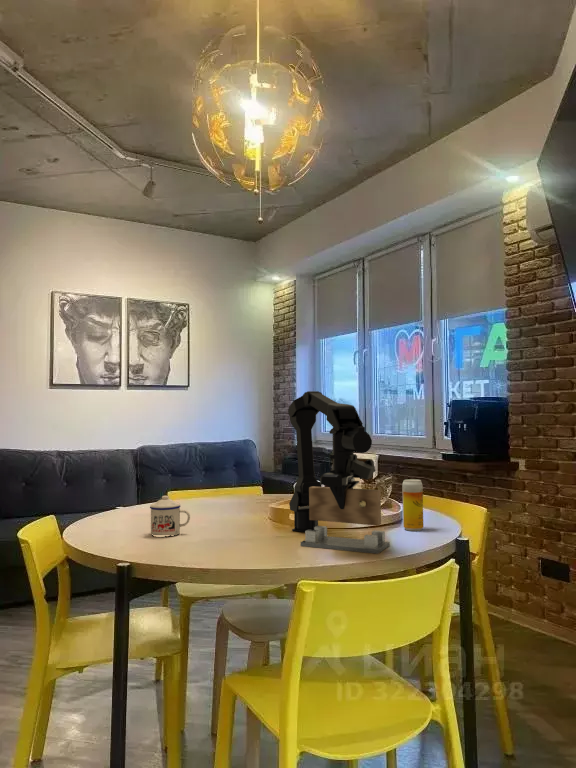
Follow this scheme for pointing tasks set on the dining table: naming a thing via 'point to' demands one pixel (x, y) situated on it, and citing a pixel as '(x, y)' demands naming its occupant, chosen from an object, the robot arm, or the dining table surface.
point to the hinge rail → (345, 541)
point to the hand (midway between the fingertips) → (344, 508)
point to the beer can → (412, 505)
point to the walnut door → (357, 510)
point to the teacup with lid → (166, 517)
